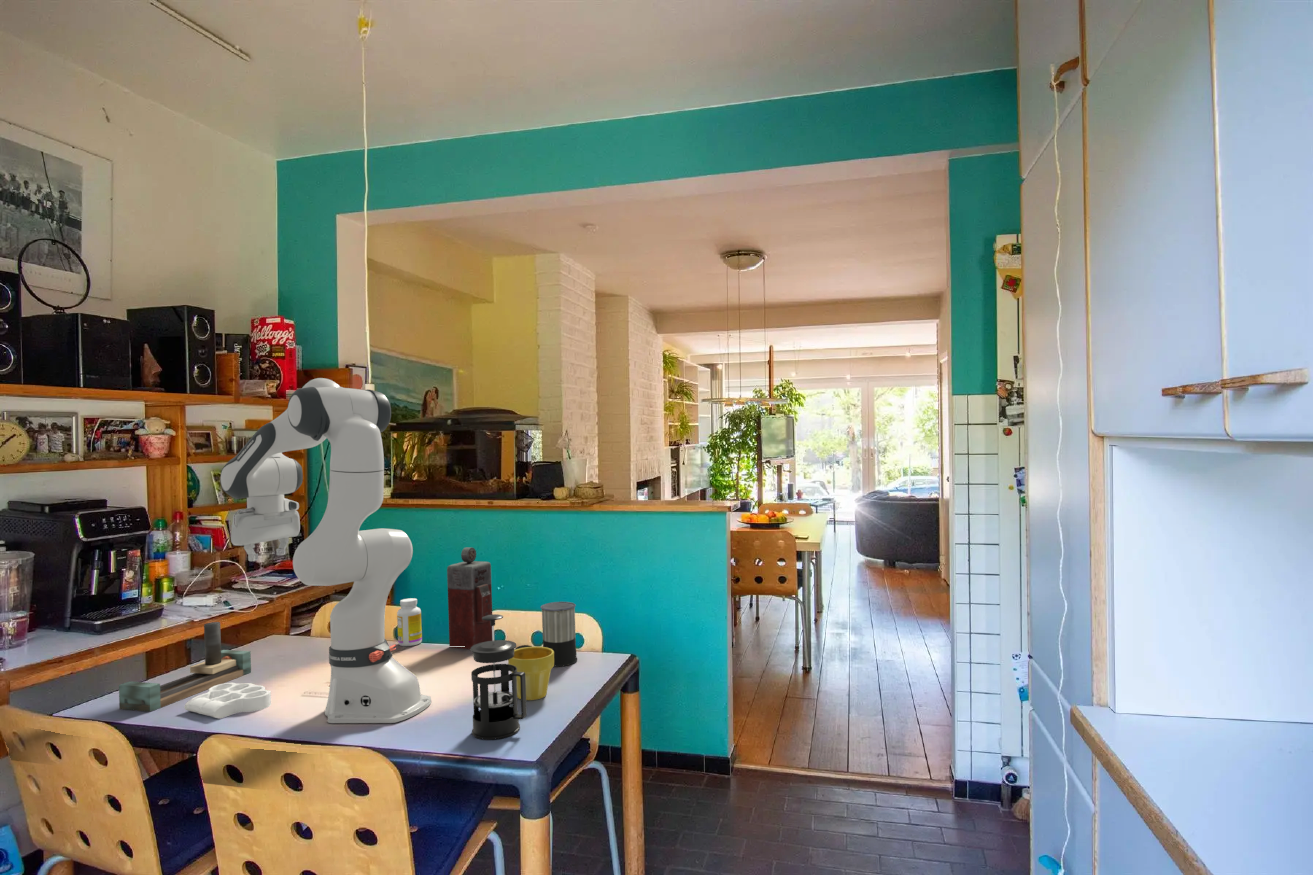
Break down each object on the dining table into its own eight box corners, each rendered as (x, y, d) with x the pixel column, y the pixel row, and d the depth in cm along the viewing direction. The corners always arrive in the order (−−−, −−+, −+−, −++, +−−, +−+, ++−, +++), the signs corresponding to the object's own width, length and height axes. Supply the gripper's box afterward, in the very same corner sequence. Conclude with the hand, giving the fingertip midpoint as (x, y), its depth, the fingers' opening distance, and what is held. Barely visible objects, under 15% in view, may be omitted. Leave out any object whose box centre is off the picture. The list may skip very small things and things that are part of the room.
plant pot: (564, 694, 164) (563, 651, 164) (526, 707, 157) (524, 662, 157) (538, 684, 172) (536, 643, 172) (500, 696, 164) (499, 653, 164)
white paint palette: (176, 712, 162) (240, 691, 175) (223, 724, 154) (287, 701, 166) (176, 697, 162) (240, 677, 175) (223, 708, 154) (287, 687, 166)
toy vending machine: (481, 650, 202) (478, 550, 202) (448, 647, 206) (445, 549, 207) (500, 642, 210) (497, 545, 210) (468, 639, 215) (465, 544, 215)
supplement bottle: (425, 640, 215) (424, 597, 215) (416, 646, 208) (414, 602, 208) (404, 640, 215) (402, 597, 215) (394, 646, 209) (392, 602, 209)
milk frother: (583, 662, 188) (581, 605, 188) (526, 674, 179) (524, 615, 179) (560, 650, 200) (558, 596, 200) (506, 661, 191) (504, 605, 191)
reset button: (232, 665, 187) (232, 655, 187) (229, 667, 186) (228, 657, 186) (224, 665, 188) (224, 655, 188) (221, 666, 187) (220, 656, 187)
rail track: (251, 672, 189) (250, 651, 189) (150, 711, 162) (149, 687, 162) (223, 670, 191) (222, 649, 191) (119, 709, 164) (118, 684, 164)
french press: (459, 737, 141) (456, 620, 142) (483, 719, 151) (480, 609, 151) (514, 742, 138) (511, 622, 139) (535, 723, 147) (531, 610, 148)
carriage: (236, 665, 186) (234, 620, 186) (212, 674, 179) (211, 627, 179) (214, 664, 187) (212, 619, 188) (190, 672, 181) (188, 626, 181)
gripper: (243, 509, 183) (245, 564, 183) (303, 502, 202) (304, 552, 202) (223, 510, 184) (225, 564, 184) (284, 502, 204) (286, 551, 204)
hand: (267, 557), depth 193 cm, fingers open, 8 cm apart
